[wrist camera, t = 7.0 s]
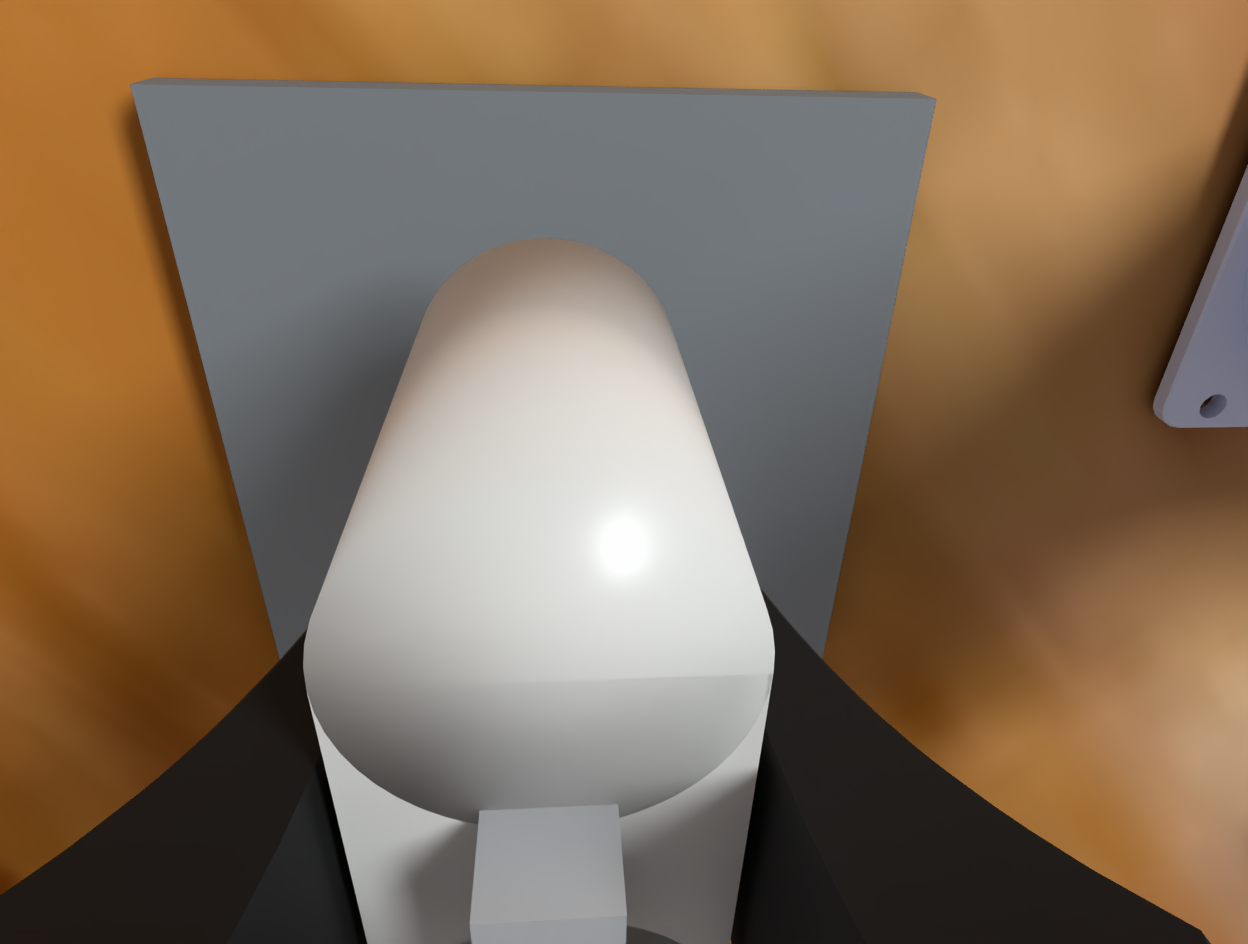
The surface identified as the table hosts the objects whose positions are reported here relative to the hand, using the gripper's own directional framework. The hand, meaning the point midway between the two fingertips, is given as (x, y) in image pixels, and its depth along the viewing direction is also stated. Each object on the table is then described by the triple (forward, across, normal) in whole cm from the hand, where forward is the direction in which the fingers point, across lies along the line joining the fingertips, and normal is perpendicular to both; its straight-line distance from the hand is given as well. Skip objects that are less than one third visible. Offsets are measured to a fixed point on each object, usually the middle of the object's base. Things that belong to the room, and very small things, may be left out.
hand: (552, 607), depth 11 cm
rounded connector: (+2, 0, 0) cm, 2 cm away
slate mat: (+6, 0, 0) cm, 6 cm away
